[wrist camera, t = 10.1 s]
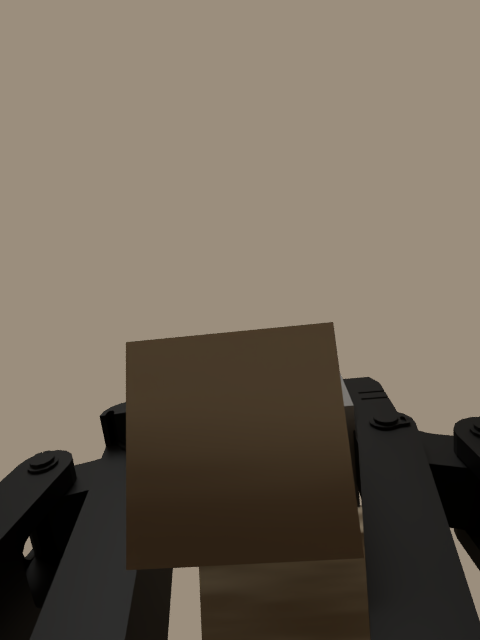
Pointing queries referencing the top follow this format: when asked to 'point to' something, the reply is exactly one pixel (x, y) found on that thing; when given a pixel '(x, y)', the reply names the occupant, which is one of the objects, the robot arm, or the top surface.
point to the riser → (286, 600)
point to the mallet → (238, 450)
